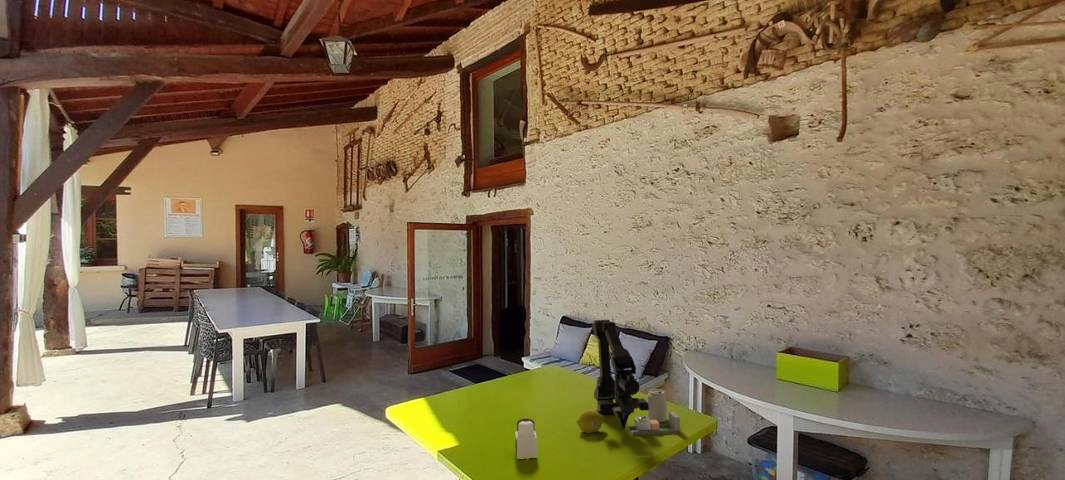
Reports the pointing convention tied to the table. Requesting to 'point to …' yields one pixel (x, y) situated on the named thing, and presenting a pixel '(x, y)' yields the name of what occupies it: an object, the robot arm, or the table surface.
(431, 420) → the table surface
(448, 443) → the table surface
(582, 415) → the lemon
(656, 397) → the can
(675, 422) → the gauge bench
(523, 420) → the medicine bottle
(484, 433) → the table surface
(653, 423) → the block
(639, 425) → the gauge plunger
